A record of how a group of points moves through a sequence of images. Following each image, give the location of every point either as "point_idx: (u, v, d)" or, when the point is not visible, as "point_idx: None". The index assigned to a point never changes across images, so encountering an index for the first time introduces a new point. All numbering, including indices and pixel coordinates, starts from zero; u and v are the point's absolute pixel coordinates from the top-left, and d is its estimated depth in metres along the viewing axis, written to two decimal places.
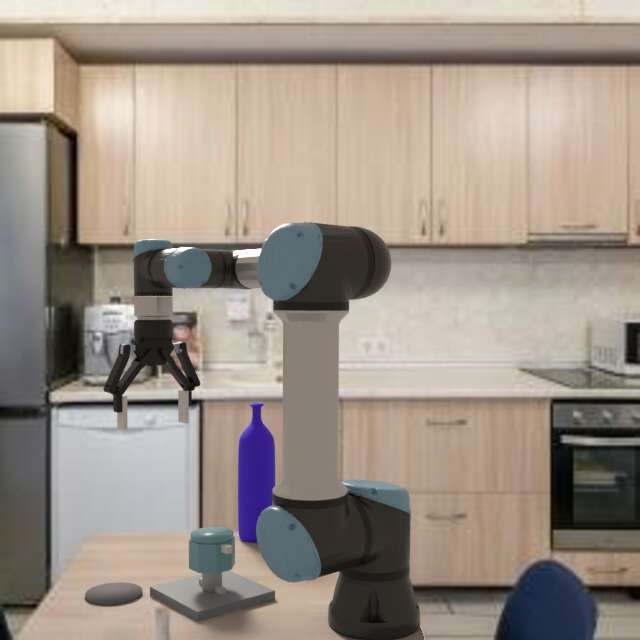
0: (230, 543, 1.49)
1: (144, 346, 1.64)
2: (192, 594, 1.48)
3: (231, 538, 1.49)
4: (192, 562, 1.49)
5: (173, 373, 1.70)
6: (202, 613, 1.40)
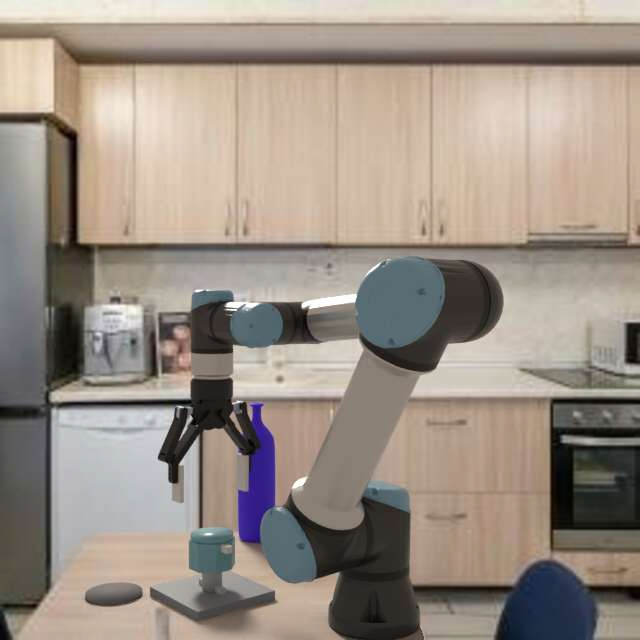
0: (230, 543, 1.49)
1: (202, 408, 1.48)
2: (192, 594, 1.48)
3: (231, 538, 1.49)
4: (192, 562, 1.49)
5: (232, 436, 1.53)
6: (202, 613, 1.40)
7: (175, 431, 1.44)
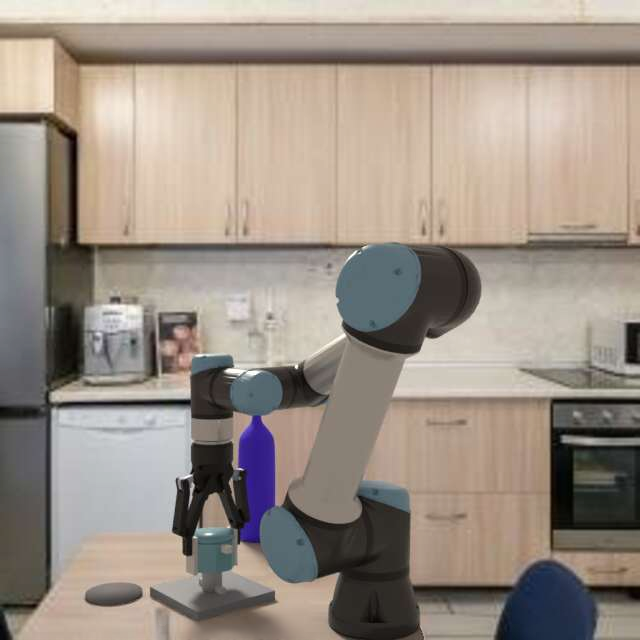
0: (230, 543, 1.49)
1: (202, 473, 1.48)
2: (192, 594, 1.48)
3: (231, 538, 1.49)
4: None
5: (225, 504, 1.52)
6: (202, 613, 1.40)
7: (182, 504, 1.45)
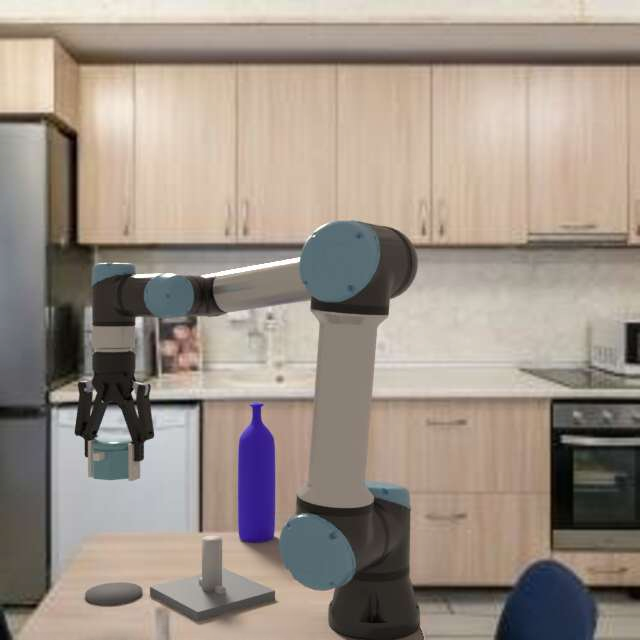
0: (108, 453, 1.47)
1: (97, 379, 1.50)
2: (192, 594, 1.48)
3: (113, 449, 1.47)
4: None
5: None
6: (202, 613, 1.40)
7: None
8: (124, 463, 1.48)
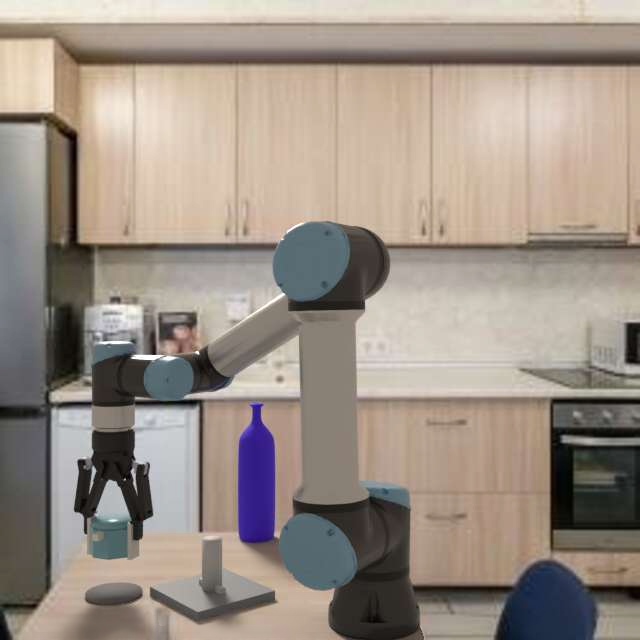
0: (107, 532, 1.47)
1: (96, 457, 1.51)
2: (192, 594, 1.48)
3: (112, 528, 1.48)
4: None
5: None
6: (202, 613, 1.40)
7: None
8: (123, 542, 1.48)
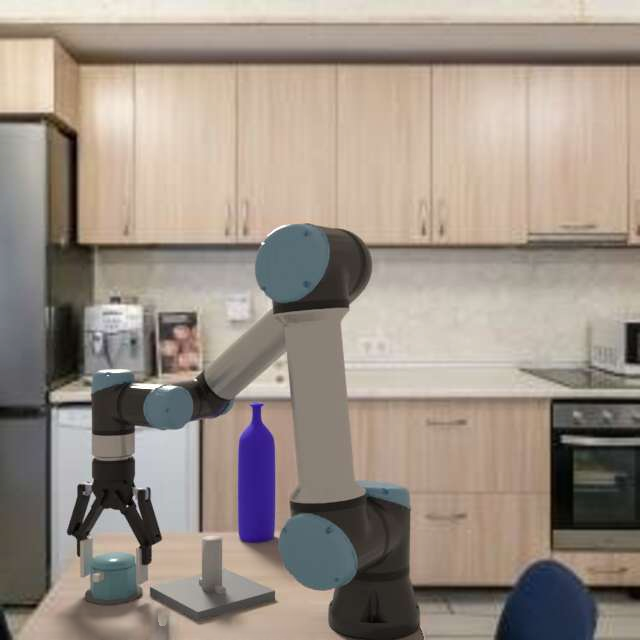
0: (107, 573, 1.47)
1: (97, 486, 1.51)
2: (192, 594, 1.48)
3: (112, 569, 1.48)
4: None
5: None
6: (202, 613, 1.40)
7: None
8: (123, 582, 1.48)
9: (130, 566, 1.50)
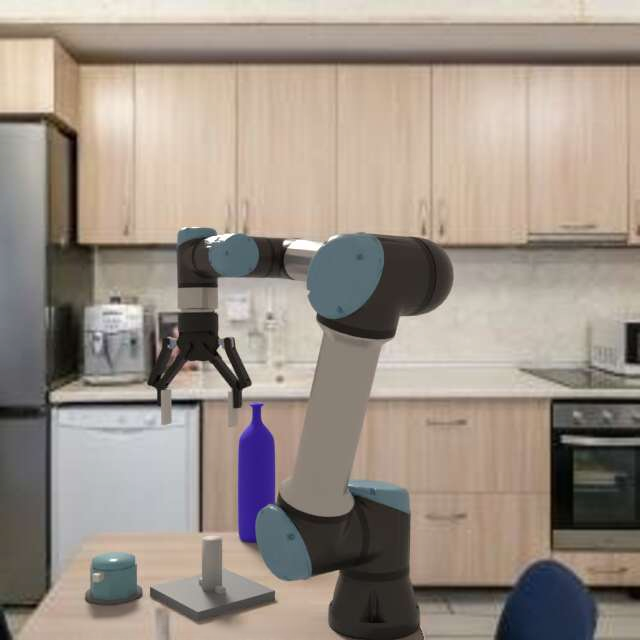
0: (107, 573, 1.47)
1: (183, 340, 1.57)
2: (192, 594, 1.48)
3: (112, 569, 1.48)
4: None
5: None
6: (202, 613, 1.40)
7: None
8: (123, 582, 1.48)
9: (130, 566, 1.50)
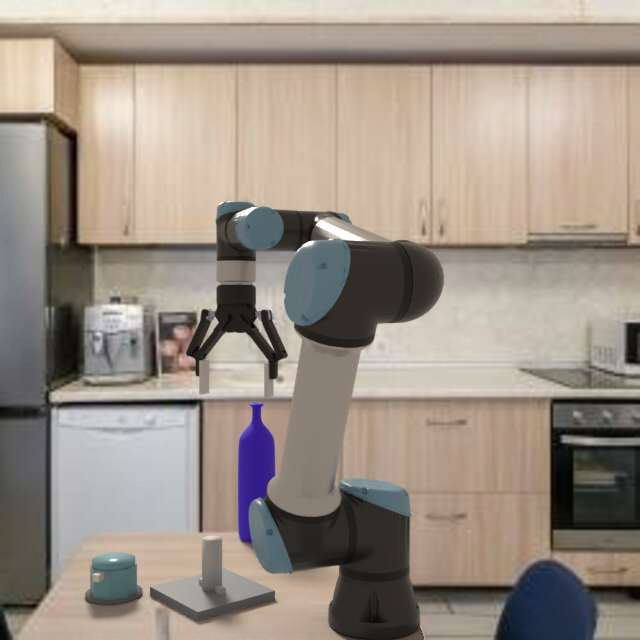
0: (107, 573, 1.47)
1: (221, 312, 1.61)
2: (192, 594, 1.48)
3: (112, 569, 1.48)
4: None
5: None
6: (202, 613, 1.40)
7: None
8: (123, 582, 1.48)
9: (130, 566, 1.50)
